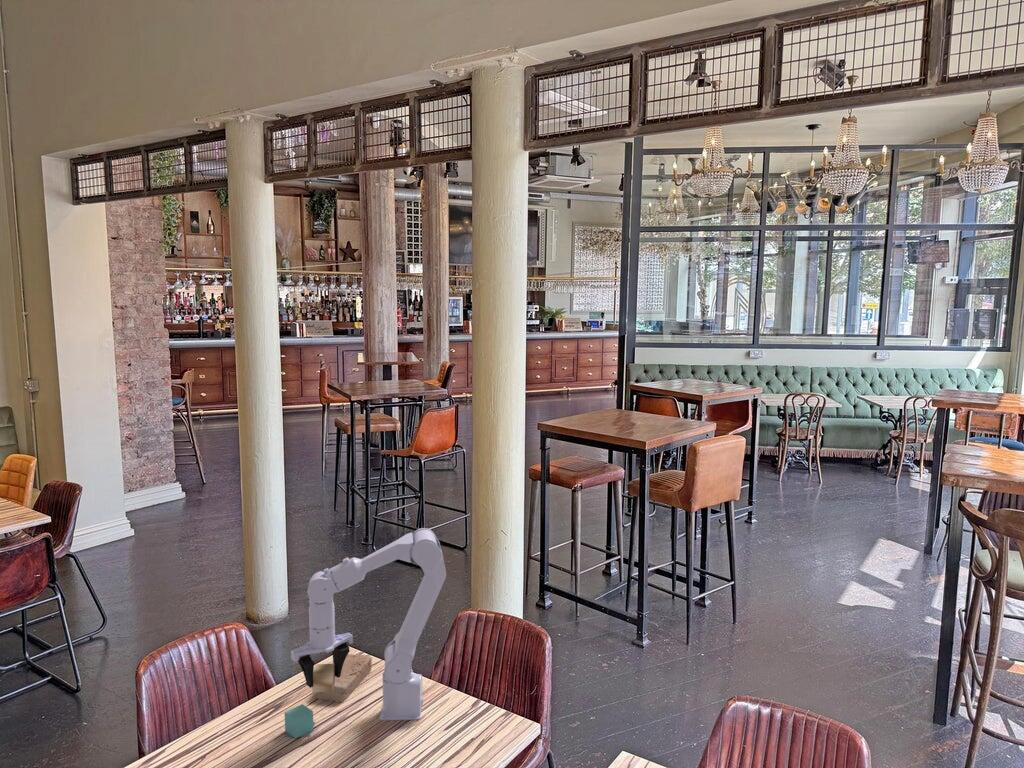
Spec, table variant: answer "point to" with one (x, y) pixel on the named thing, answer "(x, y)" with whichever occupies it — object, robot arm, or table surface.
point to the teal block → (298, 721)
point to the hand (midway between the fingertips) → (323, 680)
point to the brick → (348, 678)
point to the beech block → (323, 677)
